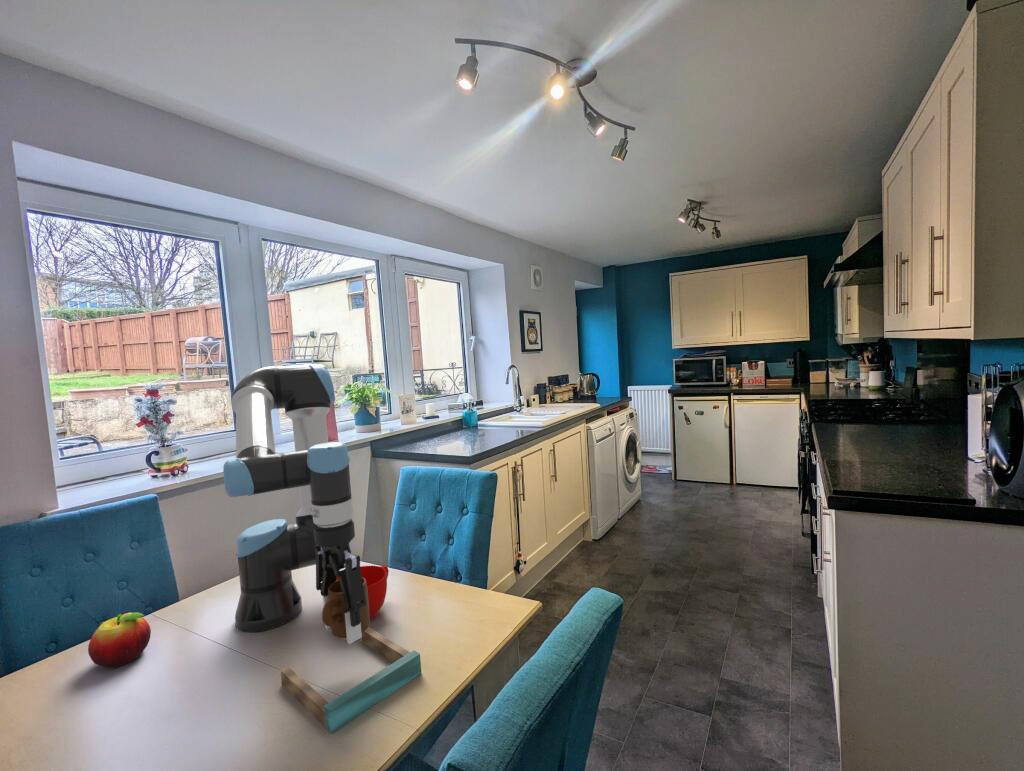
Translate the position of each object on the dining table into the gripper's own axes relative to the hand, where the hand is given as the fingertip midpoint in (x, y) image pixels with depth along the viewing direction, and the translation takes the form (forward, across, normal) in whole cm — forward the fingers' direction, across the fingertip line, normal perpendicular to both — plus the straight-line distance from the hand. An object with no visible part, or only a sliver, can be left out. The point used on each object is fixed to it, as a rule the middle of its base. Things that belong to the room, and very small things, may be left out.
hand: (343, 632), depth 94 cm
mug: (0, +1, 0) cm, 1 cm away
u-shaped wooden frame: (+9, +1, 0) cm, 9 cm away
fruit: (+9, -47, -28) cm, 56 cm away
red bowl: (+9, -18, +16) cm, 26 cm away
